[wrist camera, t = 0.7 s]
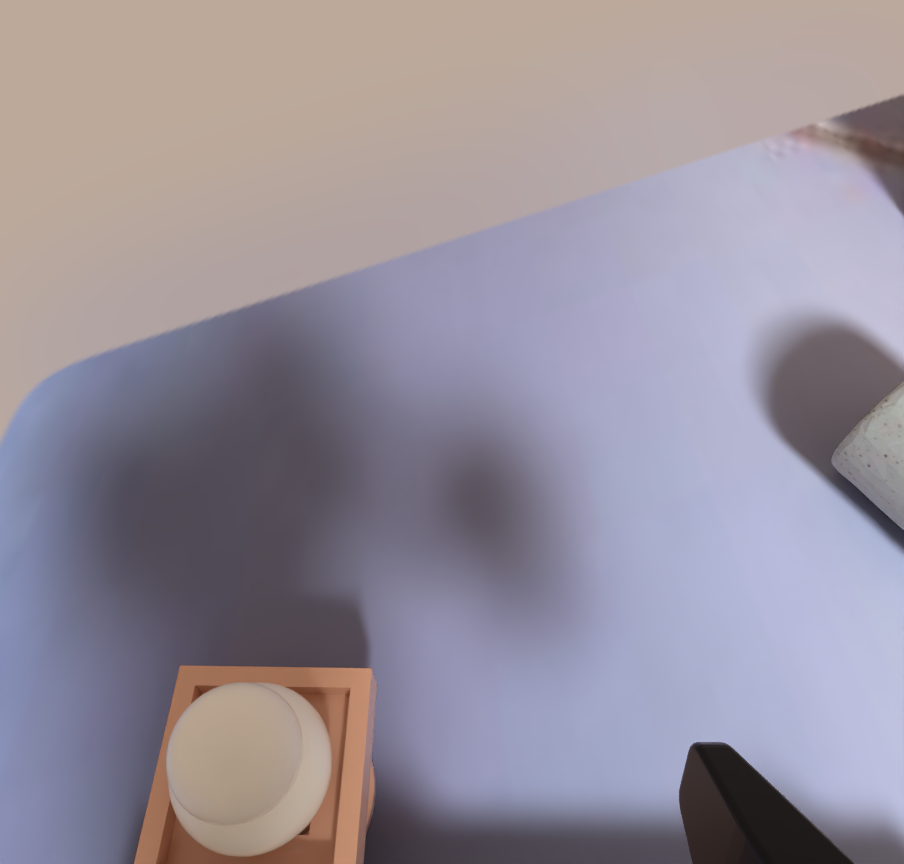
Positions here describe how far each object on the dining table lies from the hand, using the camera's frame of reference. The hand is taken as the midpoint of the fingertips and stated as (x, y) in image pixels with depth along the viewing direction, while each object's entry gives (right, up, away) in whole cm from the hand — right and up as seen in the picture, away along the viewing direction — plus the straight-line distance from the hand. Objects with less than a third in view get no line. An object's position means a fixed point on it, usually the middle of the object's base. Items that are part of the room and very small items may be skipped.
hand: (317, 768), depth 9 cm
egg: (-4, -7, +13) cm, 16 cm away
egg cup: (-4, -8, +15) cm, 18 cm away
